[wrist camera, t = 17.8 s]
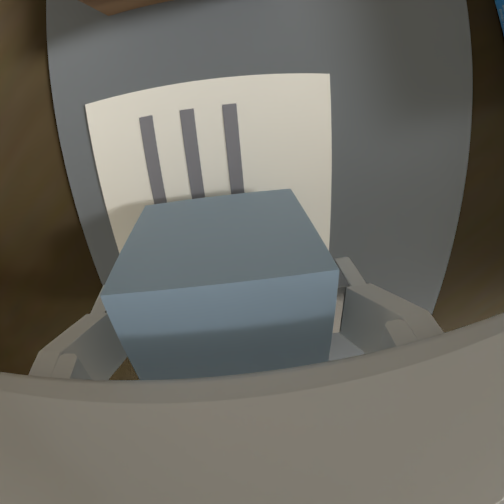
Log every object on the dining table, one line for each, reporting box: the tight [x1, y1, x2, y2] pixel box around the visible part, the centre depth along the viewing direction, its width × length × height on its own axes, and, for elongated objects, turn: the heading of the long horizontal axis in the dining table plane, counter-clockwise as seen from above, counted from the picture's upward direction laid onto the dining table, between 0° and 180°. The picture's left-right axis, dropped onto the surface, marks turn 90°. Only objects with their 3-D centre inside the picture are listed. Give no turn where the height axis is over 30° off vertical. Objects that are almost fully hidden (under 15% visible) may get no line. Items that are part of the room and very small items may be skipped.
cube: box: [100, 189, 339, 380], centre depth 10 cm, size 5×5×5 cm
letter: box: [85, 73, 332, 254], centre depth 13 cm, size 9×13×1 cm
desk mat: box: [46, 0, 473, 361], centre depth 11 cm, size 18×26×1 cm
